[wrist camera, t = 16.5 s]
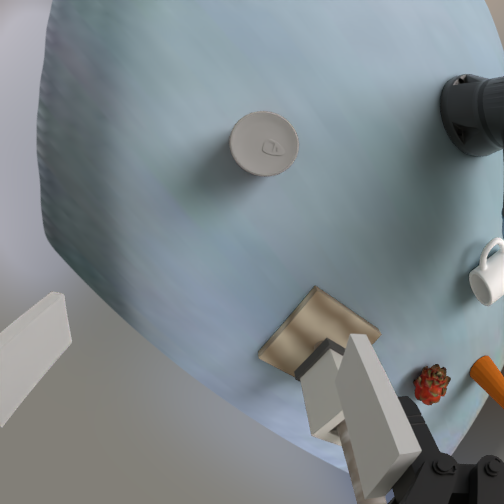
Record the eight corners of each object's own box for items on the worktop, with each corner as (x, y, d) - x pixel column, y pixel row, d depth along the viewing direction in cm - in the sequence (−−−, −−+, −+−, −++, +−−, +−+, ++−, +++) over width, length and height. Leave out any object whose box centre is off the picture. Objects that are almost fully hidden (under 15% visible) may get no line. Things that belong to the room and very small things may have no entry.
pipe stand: (315, 285, 51) (389, 456, 18) (378, 328, 54) (464, 472, 21) (258, 351, 55) (265, 527, 22) (322, 385, 58) (362, 535, 25)
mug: (502, 272, 51) (524, 286, 43) (471, 296, 52) (493, 313, 45) (494, 224, 48) (519, 234, 40) (461, 248, 49) (486, 262, 42)
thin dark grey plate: (326, 337, 46) (329, 344, 44) (361, 358, 47) (364, 365, 45) (294, 371, 48) (295, 379, 46) (329, 389, 49) (331, 396, 47)
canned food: (284, 175, 45) (294, 181, 35) (230, 168, 45) (224, 172, 35) (291, 124, 43) (303, 116, 33) (237, 117, 43) (233, 106, 32)
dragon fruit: (422, 350, 58) (424, 379, 63) (404, 381, 54) (407, 407, 59) (456, 360, 51) (453, 389, 56) (439, 393, 47) (437, 418, 52)
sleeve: (329, 348, 44) (350, 403, 33) (360, 366, 45) (384, 418, 34) (299, 378, 46) (311, 435, 34) (331, 394, 47) (347, 447, 36)
